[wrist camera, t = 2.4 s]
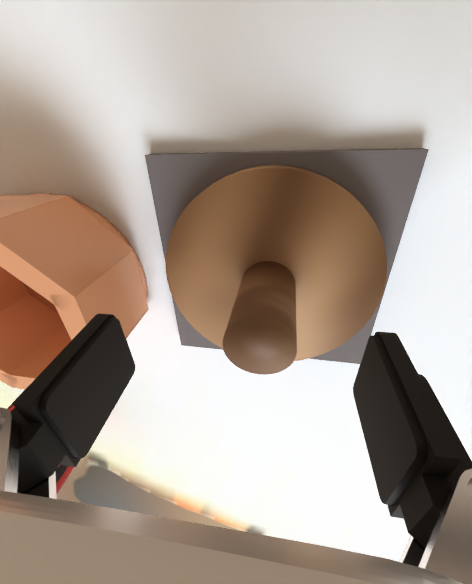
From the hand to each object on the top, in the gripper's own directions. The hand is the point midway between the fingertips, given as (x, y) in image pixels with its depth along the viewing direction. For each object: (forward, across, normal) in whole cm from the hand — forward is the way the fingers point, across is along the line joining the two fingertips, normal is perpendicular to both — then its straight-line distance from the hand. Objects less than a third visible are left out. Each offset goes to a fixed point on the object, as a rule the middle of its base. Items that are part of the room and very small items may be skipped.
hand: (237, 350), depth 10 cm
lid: (+7, -1, 0) cm, 7 cm away
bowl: (+8, +13, +2) cm, 15 cm away
